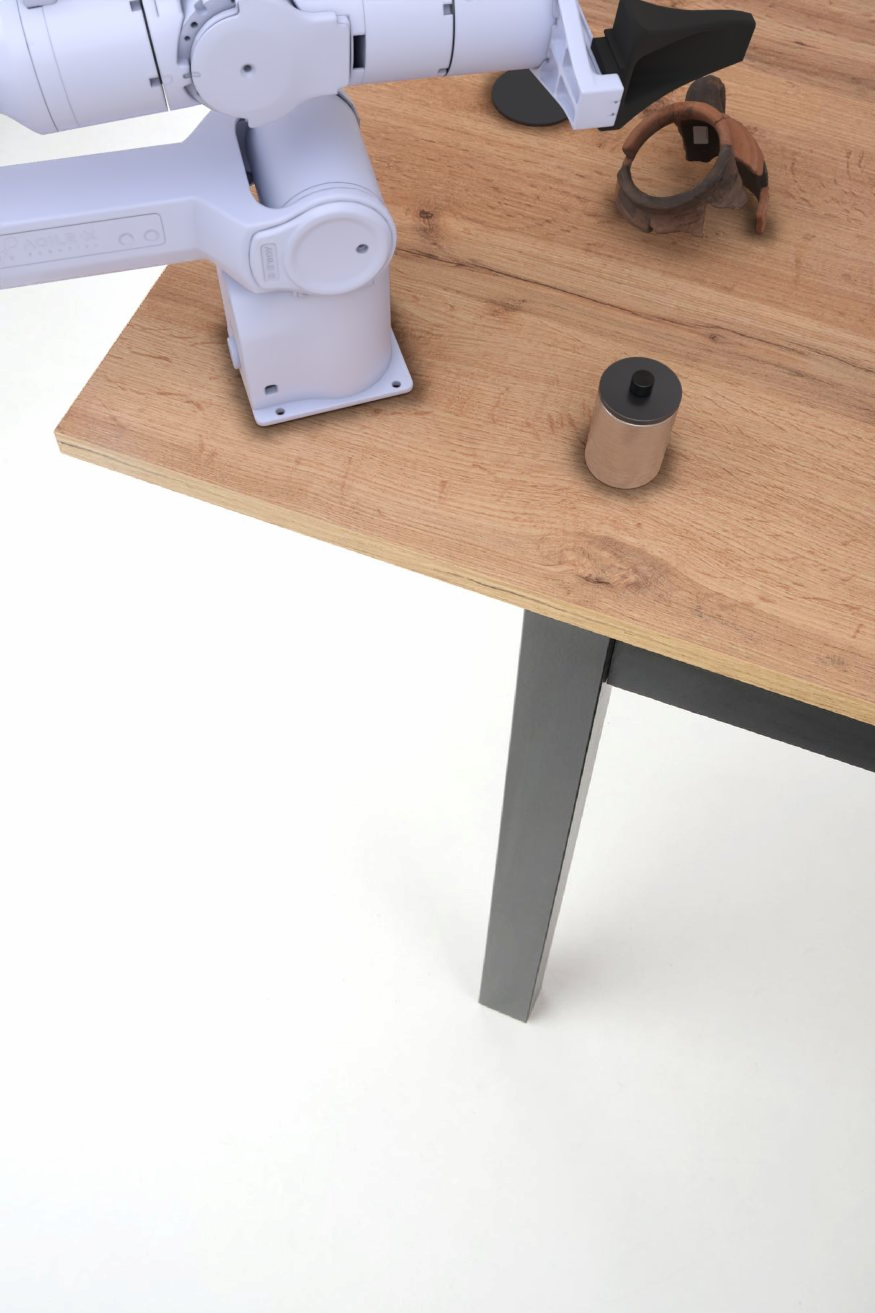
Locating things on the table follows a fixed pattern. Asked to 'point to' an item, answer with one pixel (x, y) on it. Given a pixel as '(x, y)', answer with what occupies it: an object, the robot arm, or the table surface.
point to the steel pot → (632, 421)
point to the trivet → (526, 99)
